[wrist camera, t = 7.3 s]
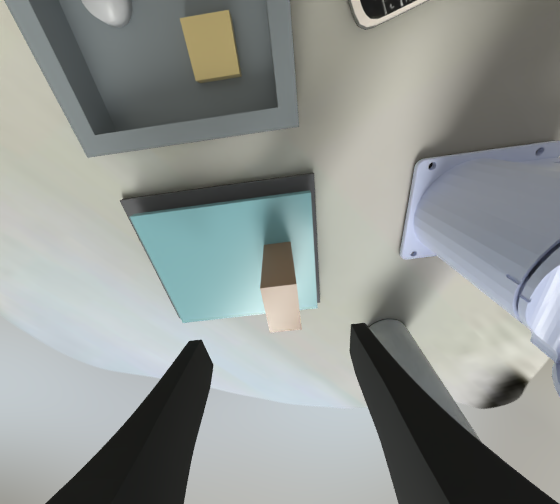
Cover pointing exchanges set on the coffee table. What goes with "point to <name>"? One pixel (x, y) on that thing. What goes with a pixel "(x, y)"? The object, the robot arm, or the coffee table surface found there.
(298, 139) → the coffee table surface
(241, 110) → the tub
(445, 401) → the grey cylinder
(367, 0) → the cell phone
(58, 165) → the coffee table surface
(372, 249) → the coffee table surface
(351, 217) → the coffee table surface
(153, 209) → the mat
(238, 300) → the lid
